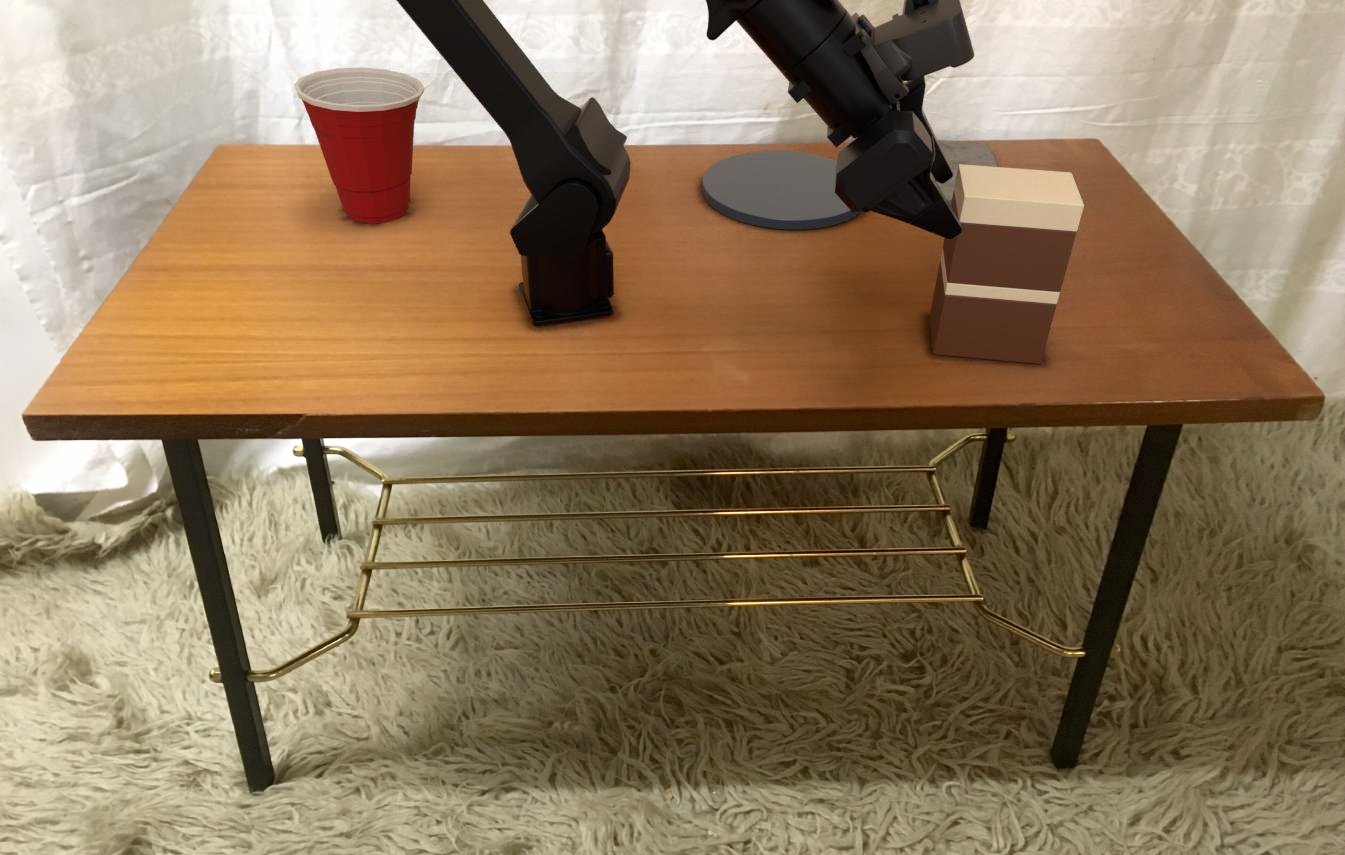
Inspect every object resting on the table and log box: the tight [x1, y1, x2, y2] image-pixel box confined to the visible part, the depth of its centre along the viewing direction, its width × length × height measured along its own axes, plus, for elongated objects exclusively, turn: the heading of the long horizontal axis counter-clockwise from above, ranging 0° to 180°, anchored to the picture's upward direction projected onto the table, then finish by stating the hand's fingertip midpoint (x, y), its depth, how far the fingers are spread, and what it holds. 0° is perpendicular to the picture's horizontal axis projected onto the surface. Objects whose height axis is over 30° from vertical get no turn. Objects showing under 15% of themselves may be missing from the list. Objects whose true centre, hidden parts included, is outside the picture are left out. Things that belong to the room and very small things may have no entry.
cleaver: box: [936, 139, 999, 206], centre depth 101 cm, size 29×10×2 cm, turn 173°
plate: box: [702, 149, 862, 231], centre depth 103 cm, size 16×16×1 cm
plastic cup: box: [293, 67, 425, 224], centre depth 95 cm, size 11×11×12 cm
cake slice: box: [929, 164, 1085, 365], centre depth 78 cm, size 8×6×13 cm
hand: (952, 205), depth 76 cm, fingers open, 9 cm apart
